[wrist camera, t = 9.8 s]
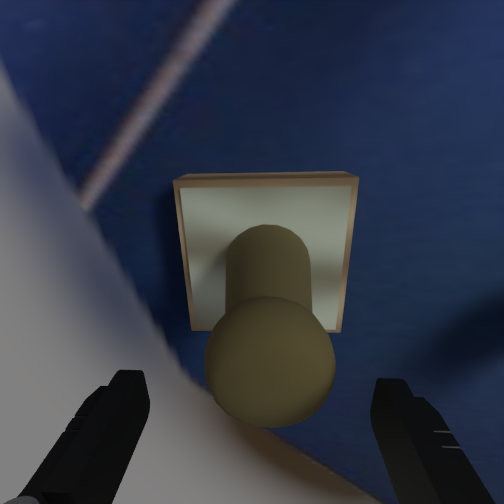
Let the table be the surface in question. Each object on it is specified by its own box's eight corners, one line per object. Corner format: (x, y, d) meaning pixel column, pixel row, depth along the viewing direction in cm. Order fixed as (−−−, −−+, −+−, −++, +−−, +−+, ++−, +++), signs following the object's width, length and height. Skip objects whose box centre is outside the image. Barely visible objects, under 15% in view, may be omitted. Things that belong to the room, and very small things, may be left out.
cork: (231, 304, 21) (200, 456, 11) (219, 228, 19) (164, 332, 9) (312, 297, 21) (356, 451, 10) (308, 219, 18) (360, 318, 8)
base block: (187, 173, 22) (171, 180, 18) (343, 171, 21) (360, 178, 17) (201, 305, 26) (190, 332, 22) (330, 306, 26) (341, 334, 22)
